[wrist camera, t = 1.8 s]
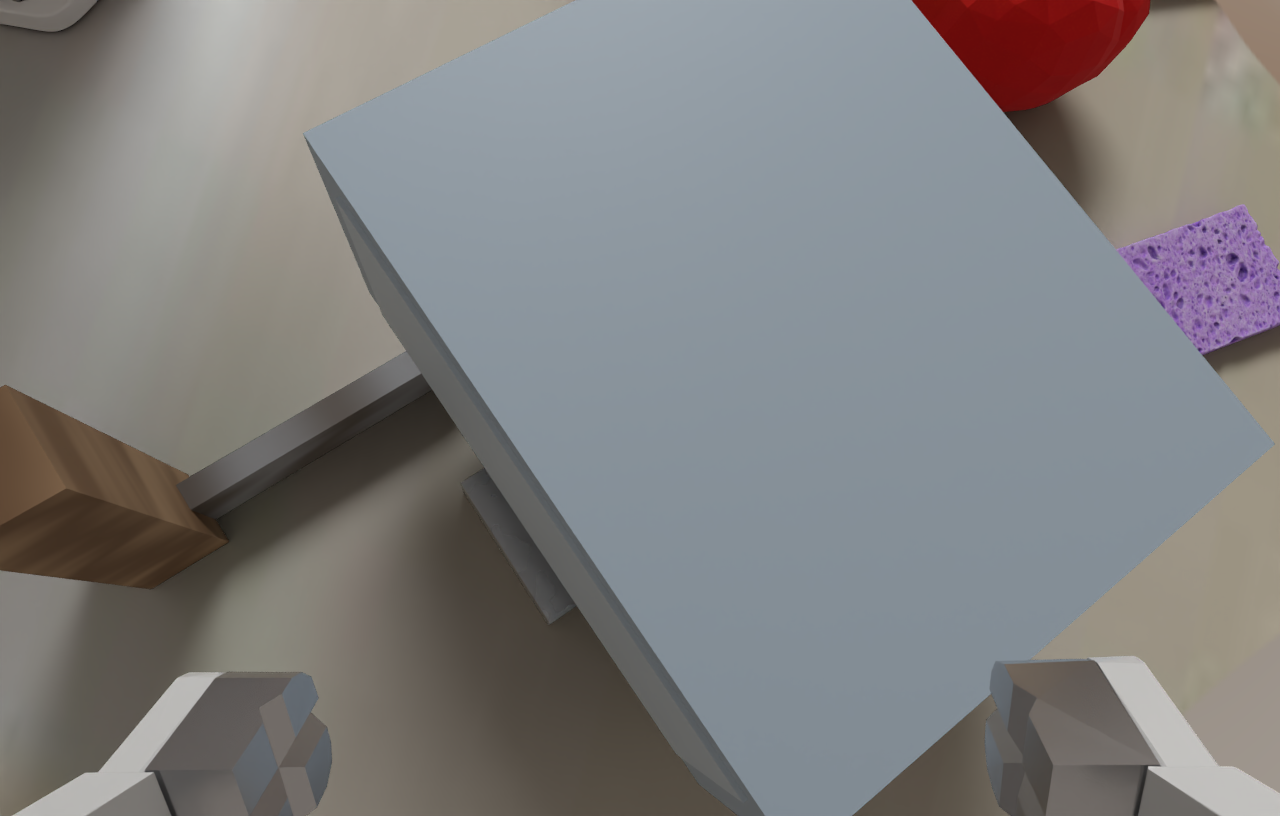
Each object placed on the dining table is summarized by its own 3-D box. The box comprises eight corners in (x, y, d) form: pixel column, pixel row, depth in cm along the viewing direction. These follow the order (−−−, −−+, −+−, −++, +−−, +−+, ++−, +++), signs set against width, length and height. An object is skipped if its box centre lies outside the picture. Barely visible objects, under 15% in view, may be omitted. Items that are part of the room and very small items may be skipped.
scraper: (151, 589, 36) (-65, 562, 22) (110, 520, 36) (-127, 453, 23) (487, 384, 40) (475, 258, 27) (447, 324, 41) (415, 171, 27)
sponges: (1281, 325, 48) (1311, 313, 46) (1103, 396, 45) (1128, 386, 43) (1219, 216, 49) (1246, 200, 48) (1043, 279, 46) (1064, 265, 45)
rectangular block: (547, 624, 38) (550, 624, 35) (464, 494, 39) (460, 482, 36) (674, 537, 40) (686, 530, 37) (591, 414, 41) (597, 398, 38)
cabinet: (661, 759, 37) (792, 868, 20) (390, 351, 40) (297, 136, 23) (959, 522, 42) (1274, 443, 24) (698, 173, 45) (815, -117, 27)
